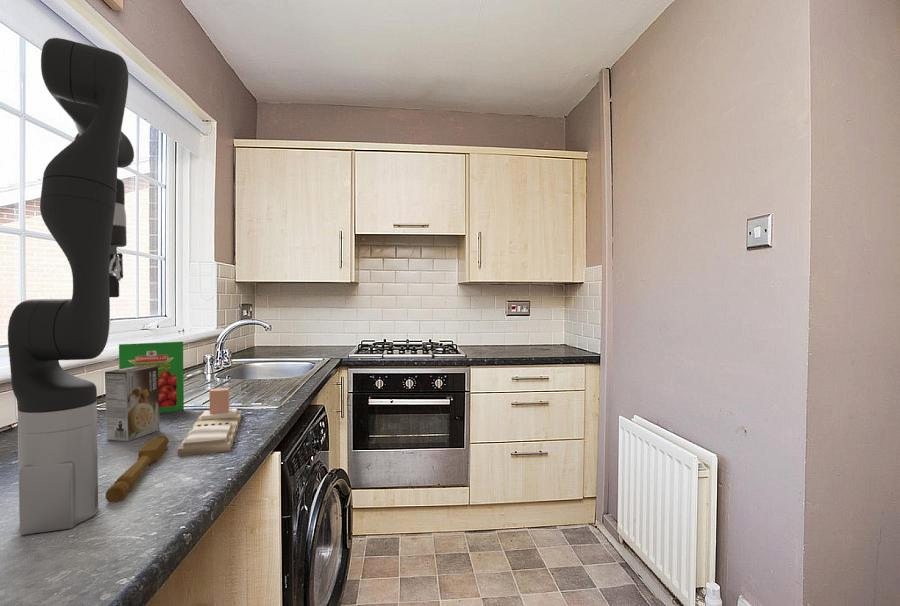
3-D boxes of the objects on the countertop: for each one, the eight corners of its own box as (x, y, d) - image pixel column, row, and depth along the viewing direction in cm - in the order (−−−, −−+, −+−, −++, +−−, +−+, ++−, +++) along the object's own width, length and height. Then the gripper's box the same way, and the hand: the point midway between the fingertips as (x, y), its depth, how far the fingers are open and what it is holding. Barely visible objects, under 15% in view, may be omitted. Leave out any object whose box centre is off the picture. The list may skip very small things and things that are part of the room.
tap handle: (103, 487, 77) (155, 433, 105) (104, 505, 77) (155, 447, 105) (125, 484, 78) (170, 432, 106) (126, 503, 78) (170, 446, 106)
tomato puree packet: (119, 417, 129) (118, 344, 129) (120, 416, 130) (119, 344, 130) (183, 410, 137) (183, 341, 137) (183, 409, 138) (183, 341, 138)
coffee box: (138, 428, 118) (137, 365, 118) (160, 430, 117) (159, 366, 117) (105, 440, 109) (104, 371, 109) (128, 441, 108) (127, 372, 108)
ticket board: (230, 450, 102) (229, 438, 102) (177, 456, 99) (177, 443, 99) (241, 416, 130) (241, 406, 130) (201, 419, 127) (200, 409, 127)
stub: (235, 417, 124) (235, 390, 124) (201, 420, 121) (200, 392, 121) (237, 411, 129) (237, 386, 129) (204, 414, 127) (204, 388, 126)
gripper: (114, 220, 99) (115, 297, 100) (135, 229, 113) (135, 297, 113) (71, 218, 97) (72, 297, 97) (97, 227, 110) (98, 297, 110)
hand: (106, 297), depth 105 cm, fingers open, 8 cm apart
